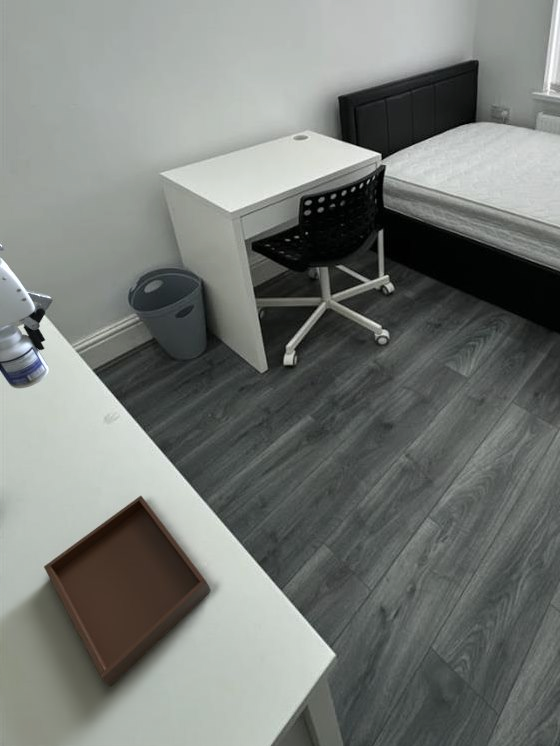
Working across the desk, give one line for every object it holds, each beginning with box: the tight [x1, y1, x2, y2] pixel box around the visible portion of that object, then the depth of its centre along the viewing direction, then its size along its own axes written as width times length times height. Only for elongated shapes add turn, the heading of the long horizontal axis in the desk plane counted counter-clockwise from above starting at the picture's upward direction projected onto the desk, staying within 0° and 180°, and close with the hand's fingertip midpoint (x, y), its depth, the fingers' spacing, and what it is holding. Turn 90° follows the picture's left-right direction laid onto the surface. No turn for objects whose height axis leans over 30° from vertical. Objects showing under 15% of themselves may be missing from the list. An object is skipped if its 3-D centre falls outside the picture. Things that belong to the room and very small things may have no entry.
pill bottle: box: [0, 324, 50, 389], centre depth 77 cm, size 5×5×10 cm
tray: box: [43, 495, 212, 687], centre depth 66 cm, size 19×13×3 cm
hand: (16, 356), depth 77 cm, fingers closed on pill bottle, 5 cm apart
